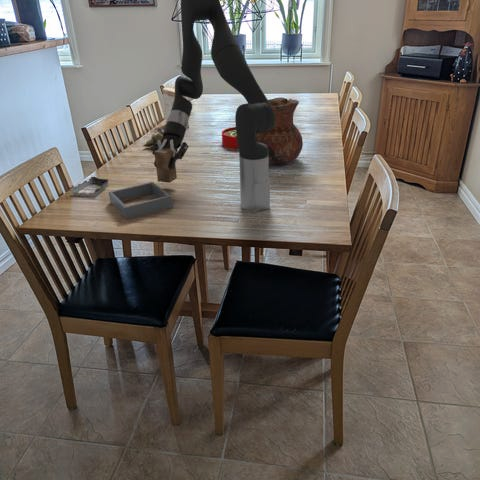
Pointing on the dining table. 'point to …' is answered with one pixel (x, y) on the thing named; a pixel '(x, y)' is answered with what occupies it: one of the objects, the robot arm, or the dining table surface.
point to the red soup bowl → (229, 138)
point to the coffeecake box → (169, 101)
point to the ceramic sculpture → (157, 136)
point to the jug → (282, 133)
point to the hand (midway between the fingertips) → (163, 167)
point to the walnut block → (164, 165)
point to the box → (143, 207)
